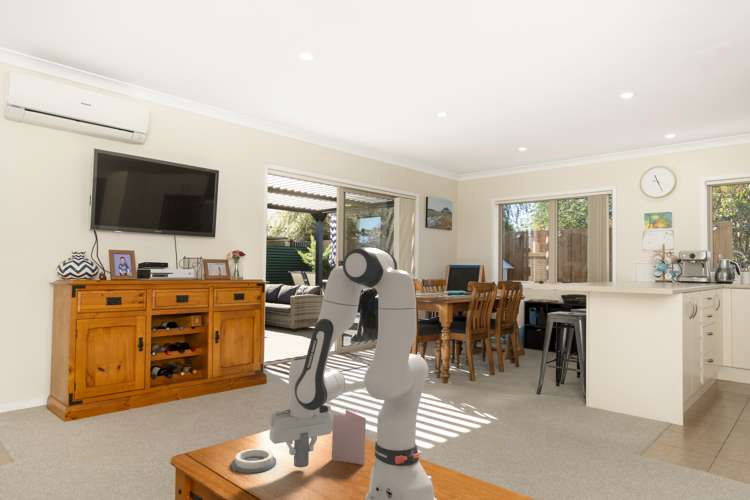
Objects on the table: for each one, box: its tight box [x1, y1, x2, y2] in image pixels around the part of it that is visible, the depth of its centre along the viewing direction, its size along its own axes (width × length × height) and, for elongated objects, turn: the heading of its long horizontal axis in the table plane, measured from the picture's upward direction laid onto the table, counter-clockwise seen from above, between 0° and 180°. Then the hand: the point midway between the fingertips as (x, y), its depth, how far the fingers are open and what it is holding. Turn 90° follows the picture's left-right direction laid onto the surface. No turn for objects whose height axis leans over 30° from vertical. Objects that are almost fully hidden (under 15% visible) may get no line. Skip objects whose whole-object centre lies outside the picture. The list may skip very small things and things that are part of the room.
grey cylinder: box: [293, 432, 310, 468], centre depth 151 cm, size 4×4×10 cm
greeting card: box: [331, 409, 367, 466], centre depth 160 cm, size 11×7×15 cm, turn 38°
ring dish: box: [231, 448, 277, 474], centre depth 155 cm, size 14×14×3 cm
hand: (301, 452), depth 151 cm, fingers closed on grey cylinder, 5 cm apart
